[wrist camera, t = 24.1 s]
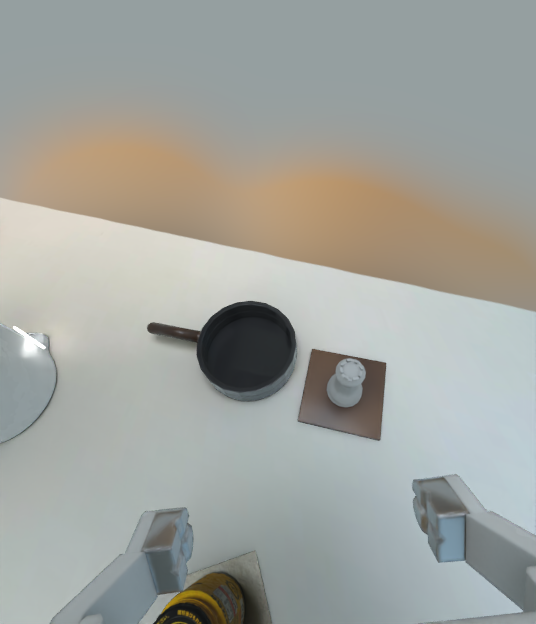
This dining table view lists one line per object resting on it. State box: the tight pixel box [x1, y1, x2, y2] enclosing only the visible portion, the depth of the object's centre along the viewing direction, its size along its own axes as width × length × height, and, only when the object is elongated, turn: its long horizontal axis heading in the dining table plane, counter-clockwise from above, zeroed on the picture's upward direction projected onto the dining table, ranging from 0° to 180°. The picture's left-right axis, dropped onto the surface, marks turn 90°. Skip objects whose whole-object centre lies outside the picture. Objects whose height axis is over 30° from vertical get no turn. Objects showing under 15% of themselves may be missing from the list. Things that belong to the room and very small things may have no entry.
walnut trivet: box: [298, 349, 386, 440], centre depth 43 cm, size 10×10×1 cm
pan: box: [197, 301, 297, 401], centre depth 45 cm, size 13×13×4 cm
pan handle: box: [147, 322, 201, 342], centre depth 46 cm, size 9×2×2 cm, turn 76°
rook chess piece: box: [327, 358, 366, 407], centre depth 39 cm, size 4×4×8 cm
